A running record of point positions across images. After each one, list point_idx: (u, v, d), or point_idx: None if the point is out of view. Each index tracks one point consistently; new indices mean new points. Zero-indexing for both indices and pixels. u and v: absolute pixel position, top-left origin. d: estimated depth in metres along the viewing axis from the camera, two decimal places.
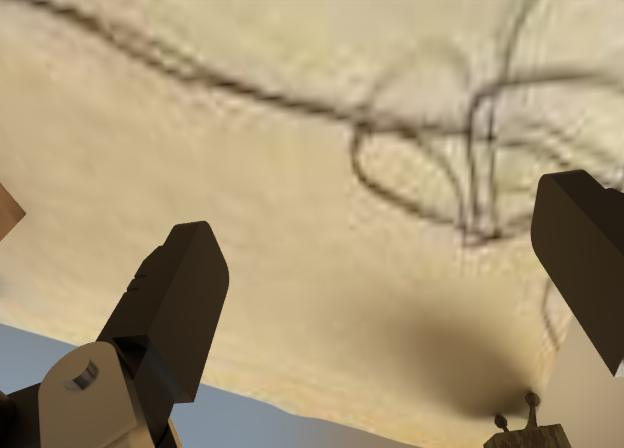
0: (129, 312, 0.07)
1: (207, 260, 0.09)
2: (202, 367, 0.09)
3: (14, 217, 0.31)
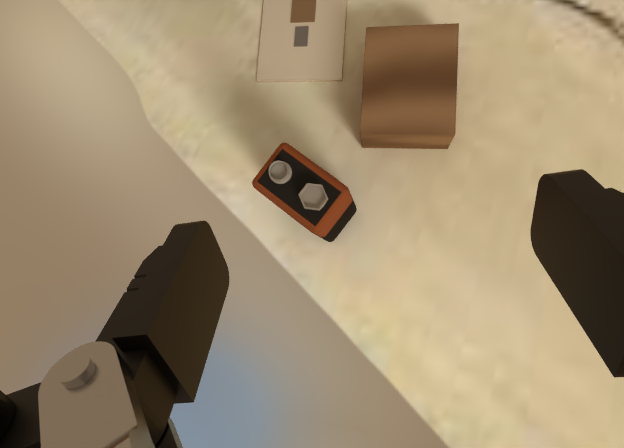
0: (129, 312, 0.07)
1: (206, 260, 0.09)
2: (202, 367, 0.09)
3: None
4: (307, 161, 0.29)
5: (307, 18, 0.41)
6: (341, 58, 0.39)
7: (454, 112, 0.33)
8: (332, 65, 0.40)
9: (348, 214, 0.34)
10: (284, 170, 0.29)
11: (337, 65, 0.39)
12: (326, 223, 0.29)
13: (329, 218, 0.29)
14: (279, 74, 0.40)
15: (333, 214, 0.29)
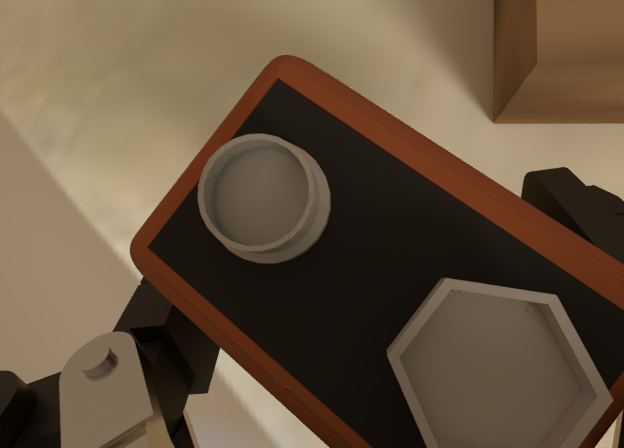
0: (145, 303, 0.07)
1: None
2: (215, 359, 0.09)
3: None
4: (414, 144, 0.05)
5: None
6: None
7: None
8: None
9: None
10: (290, 190, 0.05)
11: None
12: None
13: None
14: None
15: None
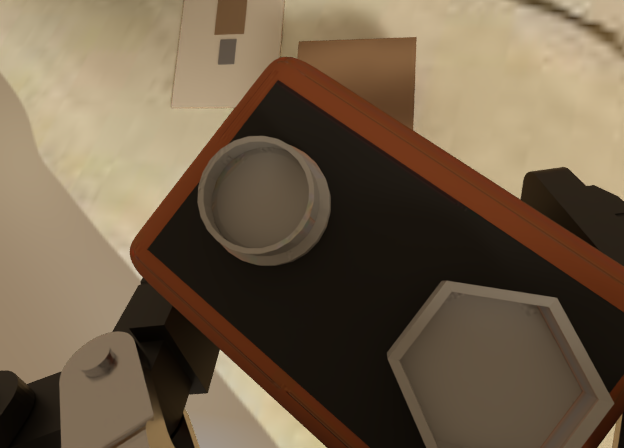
0: (145, 303, 0.07)
1: None
2: (215, 359, 0.09)
3: None
4: (414, 145, 0.05)
5: (235, 29, 0.32)
6: None
7: None
8: None
9: None
10: (290, 193, 0.05)
11: None
12: None
13: None
14: (199, 99, 0.32)
15: None
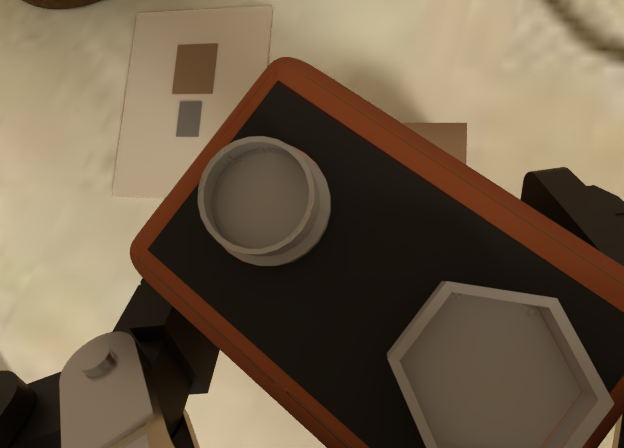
0: (145, 303, 0.07)
1: None
2: (215, 359, 0.09)
3: None
4: (413, 146, 0.05)
5: (200, 87, 0.23)
6: None
7: None
8: None
9: None
10: (290, 193, 0.05)
11: None
12: None
13: None
14: (150, 185, 0.23)
15: None
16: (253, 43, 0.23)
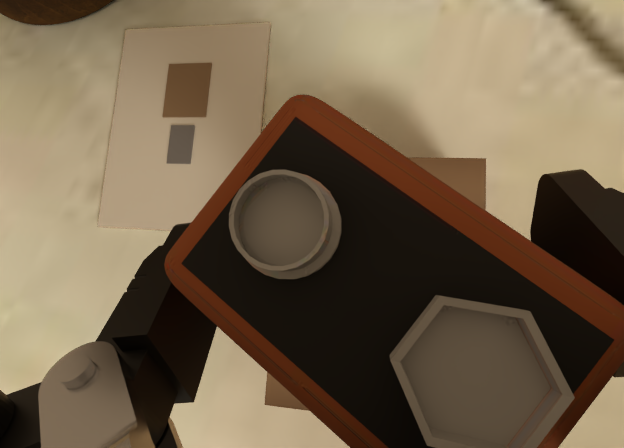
0: (129, 312, 0.07)
1: None
2: (202, 367, 0.09)
3: None
4: (413, 177, 0.06)
5: (192, 110, 0.22)
6: None
7: None
8: None
9: None
10: (307, 217, 0.06)
11: None
12: None
13: None
14: (138, 216, 0.21)
15: None
16: (250, 63, 0.22)
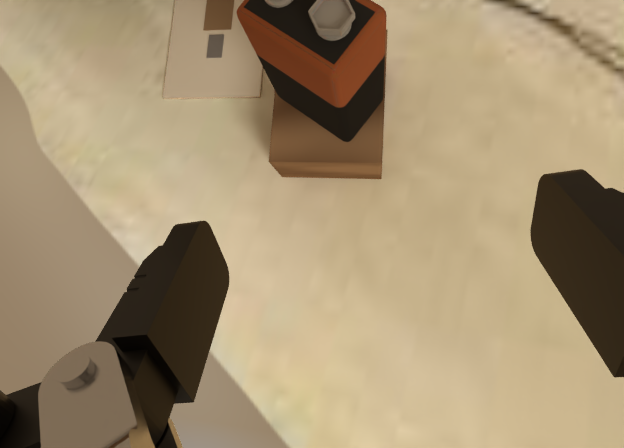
0: (129, 312, 0.07)
1: (207, 259, 0.09)
2: (202, 367, 0.09)
3: None
4: None
5: (222, 25, 0.35)
6: (260, 71, 0.33)
7: (381, 136, 0.27)
8: (249, 79, 0.33)
9: (375, 90, 0.24)
10: None
11: (255, 79, 0.33)
12: (350, 63, 0.19)
13: (355, 54, 0.19)
14: (189, 90, 0.34)
15: (361, 49, 0.19)
16: None
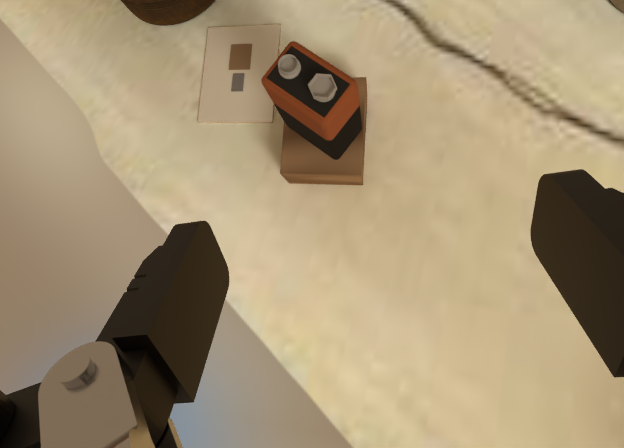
0: (129, 312, 0.07)
1: (207, 260, 0.09)
2: (202, 367, 0.09)
3: (362, 178, 0.40)
4: (316, 57, 0.30)
5: (243, 66, 0.45)
6: (272, 102, 0.44)
7: (360, 155, 0.37)
8: (264, 109, 0.44)
9: (355, 125, 0.35)
10: (293, 64, 0.30)
11: (268, 108, 0.44)
12: (335, 116, 0.29)
13: (338, 111, 0.29)
14: (218, 116, 0.45)
15: (342, 107, 0.29)
16: (270, 43, 0.45)
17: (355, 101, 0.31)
